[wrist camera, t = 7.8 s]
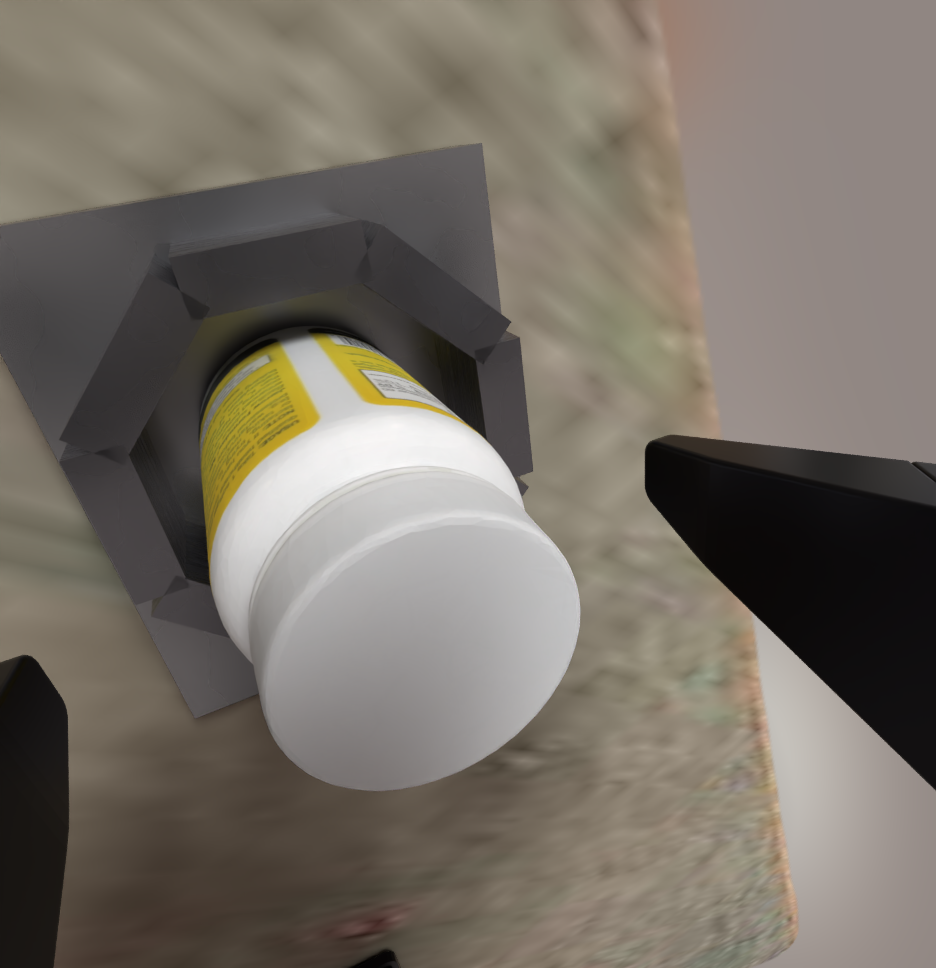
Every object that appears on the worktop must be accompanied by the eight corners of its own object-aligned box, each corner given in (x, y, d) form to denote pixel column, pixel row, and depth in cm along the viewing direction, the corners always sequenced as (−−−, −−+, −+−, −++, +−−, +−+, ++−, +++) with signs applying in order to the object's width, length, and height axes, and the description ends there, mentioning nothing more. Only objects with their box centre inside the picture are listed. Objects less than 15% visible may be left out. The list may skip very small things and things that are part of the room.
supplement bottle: (229, 541, 15) (271, 875, 8) (168, 344, 12) (149, 558, 5) (422, 491, 16) (606, 732, 9) (398, 305, 14) (616, 436, 7)
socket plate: (515, 565, 20) (575, 636, 17) (194, 687, 17) (196, 797, 14) (460, 145, 14) (538, 137, 11) (-41, 231, 11) (-122, 253, 8)
